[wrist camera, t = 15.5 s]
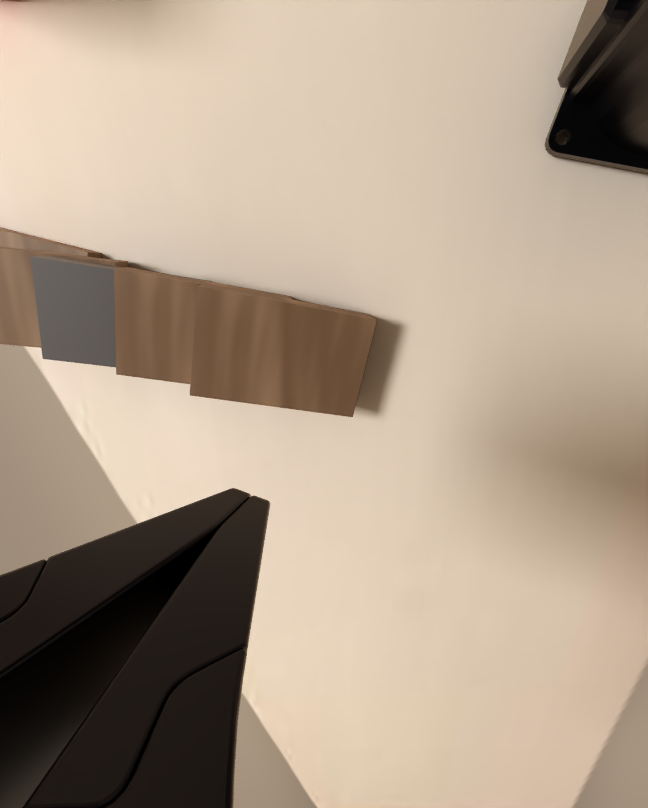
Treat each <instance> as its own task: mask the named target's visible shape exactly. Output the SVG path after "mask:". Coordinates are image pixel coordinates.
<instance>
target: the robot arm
mask: <svg viewBox="0 0 648 808" xmlns="http://www.w3.org/2000/svg"><path fill="white" fill-rule="evenodd" d="M558 81H559V85H560V87H562V88H566V89H565V91H564V94H563V96H562V99H561V102H560V104H559V107H558V109H557V112H556V114H555V117H554V120H553V122H552V125H551V127H550V130H549V132H548V135H547V138H546V142H545V147H546V150H547V152H548V153H549V154H551V155H553V156H558V157H564V158H569V159H574V160H579V161H585V162H590V163H595V164H600V165H606V166H611V167H616V168H621V169H627V170H632V171H637V172H643V173H648V0H587V3H586V5H585V8H584V11H583V13H582V16H581V19H580V21H579V24H578V26H577V29H576V32H575V34H574V37H573V40H572V42H571V45H570V48H569V50H568V53H567V56H566V58H565V61H564V63H563V66H562V69H561V71H560V74H559V77H558ZM559 133H564V134H565V135H566V137H567V142H566V143H565V144H564V145H559V144H557V143H556V141H555V139H556V135H557V134H559ZM269 509H270V502H269V501H268V500H265V499H262V498H260V497H257V496H251V495H250V494H249V493H246V492H244V491H241V490H238V489H235V488H232V489H229V490H226V491H223V492H221V493H218V494H215V495H213V496H210V497H207V498H205V499H202V500H200V501H197V502H194V503H192V504H189V505H186V506H184V507H181V508H178V509H176V510H173V511H170V512H168V513H165V514H162V515H160V516H157V517H155V518H152V519H149V520H147V521H144V522H141V523H139V524H136V525H133V526H131V527H128V528H125V529H123V530H120V531H117V532H115V533H112V534H109V535H107V536H104V537H102V538H99V539H96V540H94V541H91V542H88V543H86V544H83V545H80V546H78V547H75V548H72V549H70V550H67V551H64V552H62V553H59V554H57V555H54V556H51V557H50V558H49V559H48V560H47V561H46V560H40V561H38V562H35V563H32V564H30V565H27V566H24V567H22V568H19V569H16V570H14V571H11V572H8V573H5V574H2V575H0V808H233V802H234V774H235V758H236V757H235V756H236V742H237V726H238V715H239V706H240V698H241V691H242V683H243V675H244V669H245V663H246V656H247V648H248V642H249V635H250V629H251V623H252V616H253V610H254V604H255V597H256V591H257V585H258V578H259V572H260V566H261V559H262V553H263V547H264V540H265V534H266V528H267V521H268V515H269Z"/></svg>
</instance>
